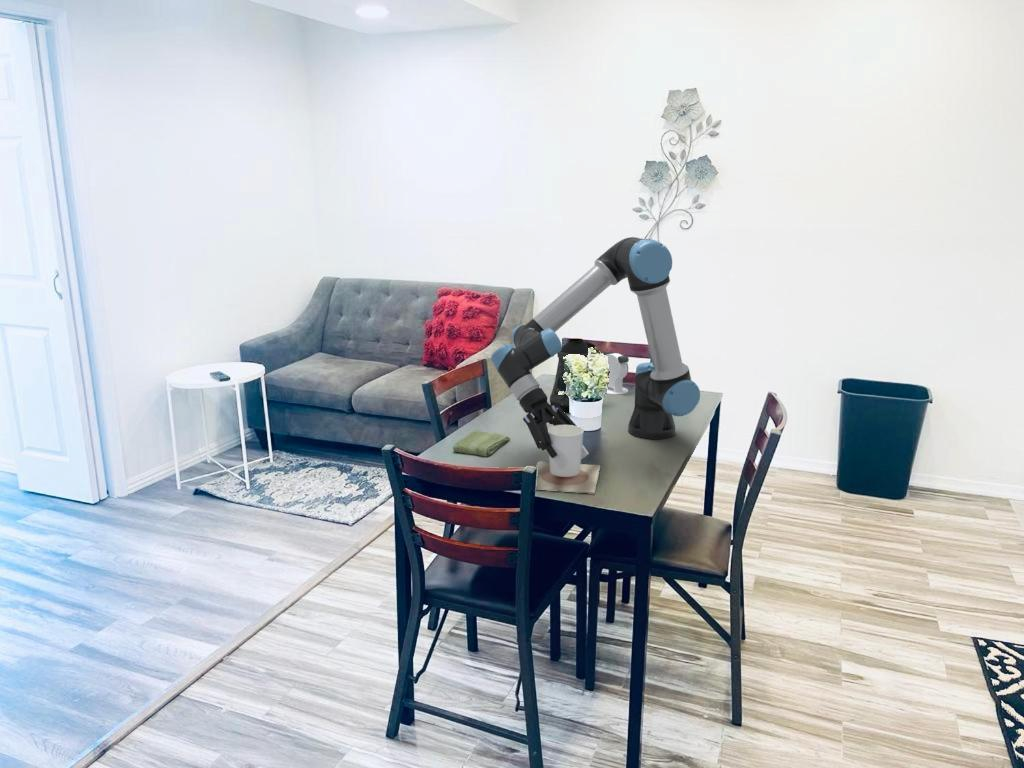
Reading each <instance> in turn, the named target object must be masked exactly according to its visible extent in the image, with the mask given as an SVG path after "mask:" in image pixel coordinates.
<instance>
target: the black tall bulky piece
mask: <svg viewBox="0 0 1024 768" xmlns="http://www.w3.org/2000/svg"><path fill="white" fill-rule="evenodd" d="M589 347H593V348H594V349H595V350H596V351H597V352H599V353H601V351H599V350H597V349H596V345H595V344H593V343H591V342H589V341H585V342H584V340H583V338H577V337H576V338H570V339H568V340H567V343H565V344H564V345H562V349H561V351H559V352H558V353H557V358H558V361H557V367H556V374H555V379H554V384H553V387H552V389H551V390H552V391H551V392H550V395H549V404H550V405H551V406H554V405H555V404H556V403H558V404H559V406H560V407H561V409H562V410H563V411H564V412H565V414H570V413H569V398H568V396H567V395H566V394H564V395H558V392H559V391H564V392H565V391H566V384H565V383H564V380H563V378H562V376H563V374H564V373H565V370H564V362H563V356H564V357H565V356H566V355H568V354H580V355H584V356H585V357H587V355H588V348H589Z"/></svg>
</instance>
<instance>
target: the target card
mask: <svg viewBox="0 0 1024 768" xmlns="http://www.w3.org/2000/svg"><path fill="white" fill-rule="evenodd" d="M535 467H537V468H538V476H537V486H536V490H542V489H544V490H557V491H566V492H576V493H575V494H578V493H588V494H587V495H593V494H596V489H597V486H596V485H598V480H599V476H600V472H601V465H600V464H599V465H597V464H586V463H585V464H583V463H581V467H580V473H579V474H578V475H576V476H572V477H560V476H556V475H553V474H552V473H551V472H550V467H549V461H537V464H536V465H535ZM599 471H600V472H599ZM536 490H535V491H536Z"/></svg>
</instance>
